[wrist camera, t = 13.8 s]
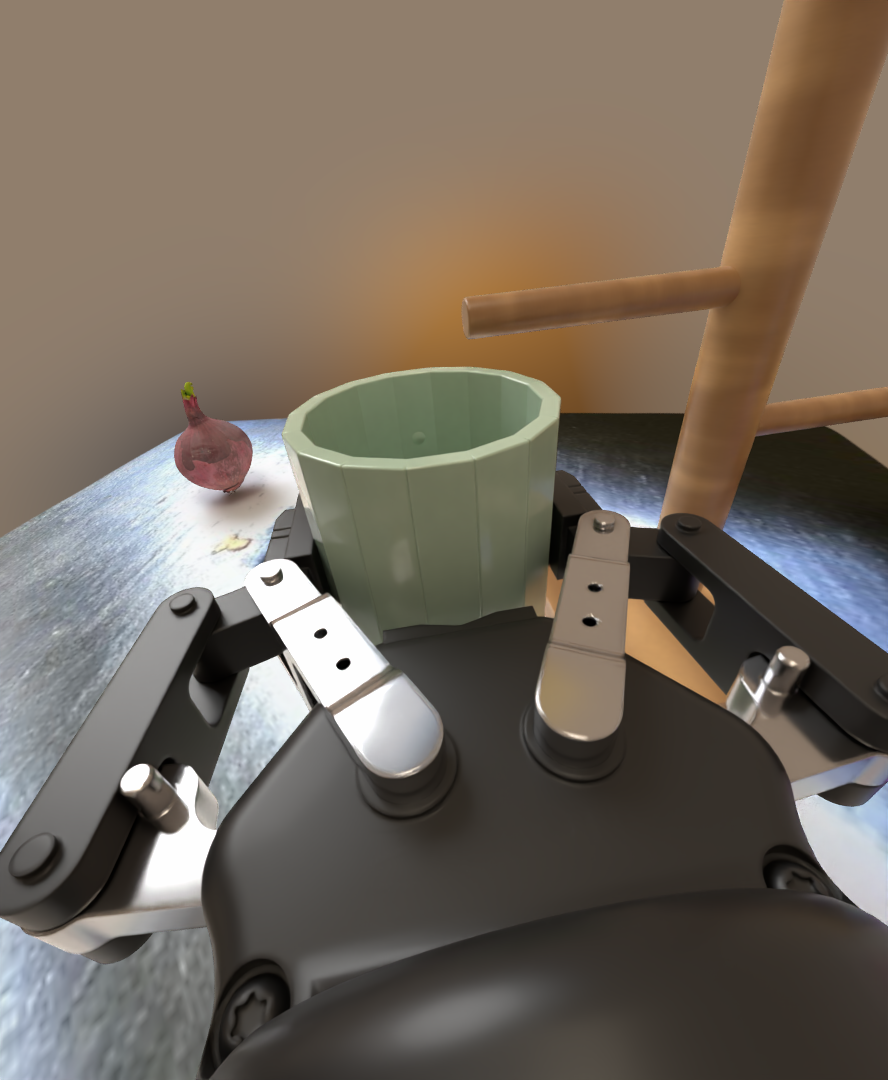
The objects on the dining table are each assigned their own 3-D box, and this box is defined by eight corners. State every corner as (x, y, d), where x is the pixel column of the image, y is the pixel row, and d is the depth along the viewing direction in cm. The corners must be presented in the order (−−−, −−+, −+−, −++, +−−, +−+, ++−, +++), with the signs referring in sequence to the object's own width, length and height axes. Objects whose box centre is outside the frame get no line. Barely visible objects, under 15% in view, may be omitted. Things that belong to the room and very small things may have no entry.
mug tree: (513, 762, 19) (538, -1109, 3) (461, 578, 28) (405, -109, 13) (905, 685, 20) (2275, -917, 4) (727, 534, 30) (967, -138, 14)
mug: (567, 733, 14) (611, 440, 8) (363, 772, 14) (258, 489, 8) (490, 542, 23) (485, 330, 17) (363, 561, 22) (312, 351, 16)
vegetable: (189, 517, 37) (130, 400, 32) (201, 484, 42) (151, 377, 36) (264, 502, 39) (219, 385, 33) (266, 471, 43) (229, 365, 38)
